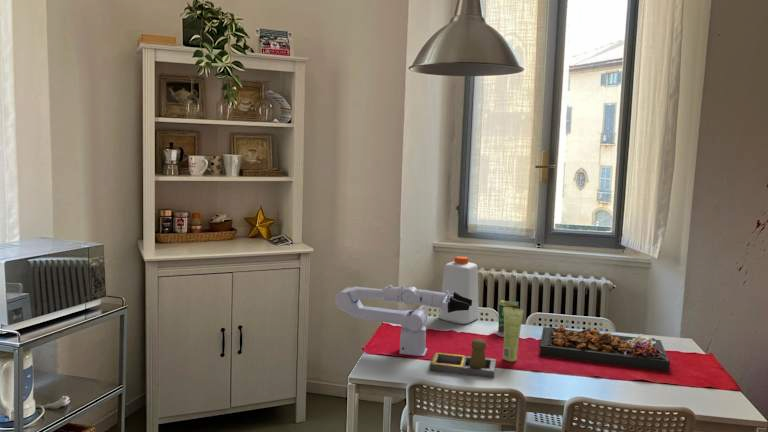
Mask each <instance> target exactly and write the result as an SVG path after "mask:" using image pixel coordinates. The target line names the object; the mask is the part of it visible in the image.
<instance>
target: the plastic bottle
mask: <svg viewBox="0 0 768 432" xmlns="http://www.w3.org/2000/svg"><path fill="white" fill-rule="evenodd" d="M443 268H444V269H443V279H442V285H441V286H442V288H441V293H446V291H447V290H449V294H450V295H453V294H454V292H456V293H458V294H459V295H461V296H463V297H466V298H468V299H471V300H472V306H469V310H463V311H453V312H450V313H448V308H447V310H445V309H442V308H439V314H438V316H439V318H440V319H441V320H442V321H446V322H451V323H455V324H458V325H459V324H461V325H466V324H470V323H471V322H474V321H476V320H478V318H479V276H478V275H479V273H478V271H479V270H478V268H479V267H478V264H476V263H474V262H469V257H468V256H461V255H459V256H458V255H456V256H455V257H454V261H451V262H450V261H449V262H448V263H446V264H445V265H444V267H443Z"/></svg>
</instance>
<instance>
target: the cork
mask: <svg viewBox="0 0 768 432" xmlns="http://www.w3.org/2000/svg"><path fill="white" fill-rule="evenodd" d="M470 344H471V348H472V351H471V355H470V356H471V360H470V365H469V366H468V367H476V368H485V369H487V367H486V362H485V358H486V355H485V354H486V353H485V350H486V349H487V342H486V341H485V339H482V338H474V339H473V340H471V343H470Z"/></svg>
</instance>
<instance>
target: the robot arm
mask: <svg viewBox="0 0 768 432" xmlns="http://www.w3.org/2000/svg"><path fill="white" fill-rule="evenodd" d="M361 299H382V300H383V301H384V302H385V303H386V302H388V303H389V302H390V303H404V304H406V306H412V305H418V306H425V307H430V308H431V307H432V308H438V309H440V308H442V309H445V310H447V308H448V313H450V312H453V311H463V310H469V306H472V300H471V299H468V298H466V297H463V296H461V295H459V294H458V293H456V292H454V294H453V295H450V294H449V290H447V291H446V293H442V291H433V290H427V289H418V288H417V287H416V286H412V285H408V286H407V287H405V285H402V286H393V284H389V285H388V286H385V287H384V288H373V287H372V288H371V287H363V286H356V285H355V286H346V287H345V288H344V289H342V291H339V292H338V293H336V295H335V297H334V301H335V304H336V306H337V307H338V309H339V310H340V311H343V312H345V313H347V314H348V315H350V316H351V317H352V318H354V319H356V320H365V321H372V322H379V323H387V324H393V325H398V326H401V330H400V337H399V354H400V355H406V356H407V355H408V356H417V357H425V356H426V354H427V352H428V348H427V347H426V341H427V340H426V339H427V338H426V337H427V327H426V326H425V324H426V323H427V321H428V314H427V313H426V311H425V310H424V309H422V308H416V309H413V310H412V309H407V310H399V309H389V308H382V307H376V306H375V307H374V306H368V305H367V306H366V305H363V303H362V301H361Z"/></svg>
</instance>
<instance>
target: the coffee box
mask: <svg viewBox="0 0 768 432" xmlns="http://www.w3.org/2000/svg"><path fill="white" fill-rule="evenodd" d="M519 303H520V302H519V301H512V300H511V301H510V300H509V301H508V300H502V299H501V300H499V302H498V304H499V305H498V324H497V325H498V328H497V331H498V332H501V333H504V311H503V307H507V308H514V309H519Z"/></svg>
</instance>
